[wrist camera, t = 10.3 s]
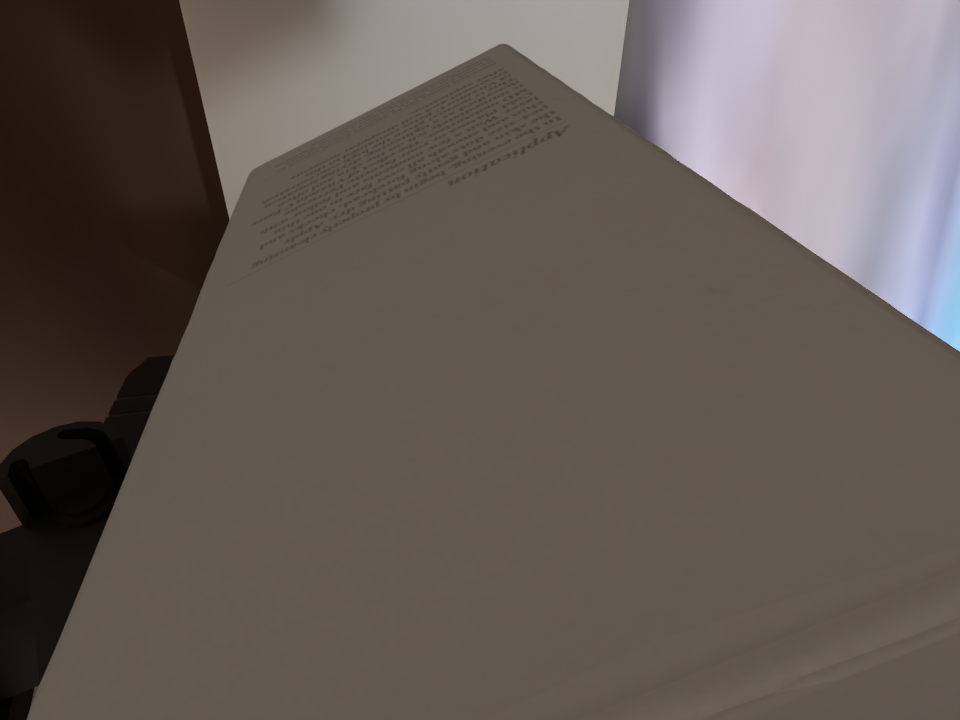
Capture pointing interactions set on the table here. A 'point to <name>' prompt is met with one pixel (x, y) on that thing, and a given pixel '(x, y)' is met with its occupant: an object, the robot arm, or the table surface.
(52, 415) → the table surface
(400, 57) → the end holder
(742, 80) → the table surface
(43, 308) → the table surface
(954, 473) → the small box
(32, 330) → the table surface
